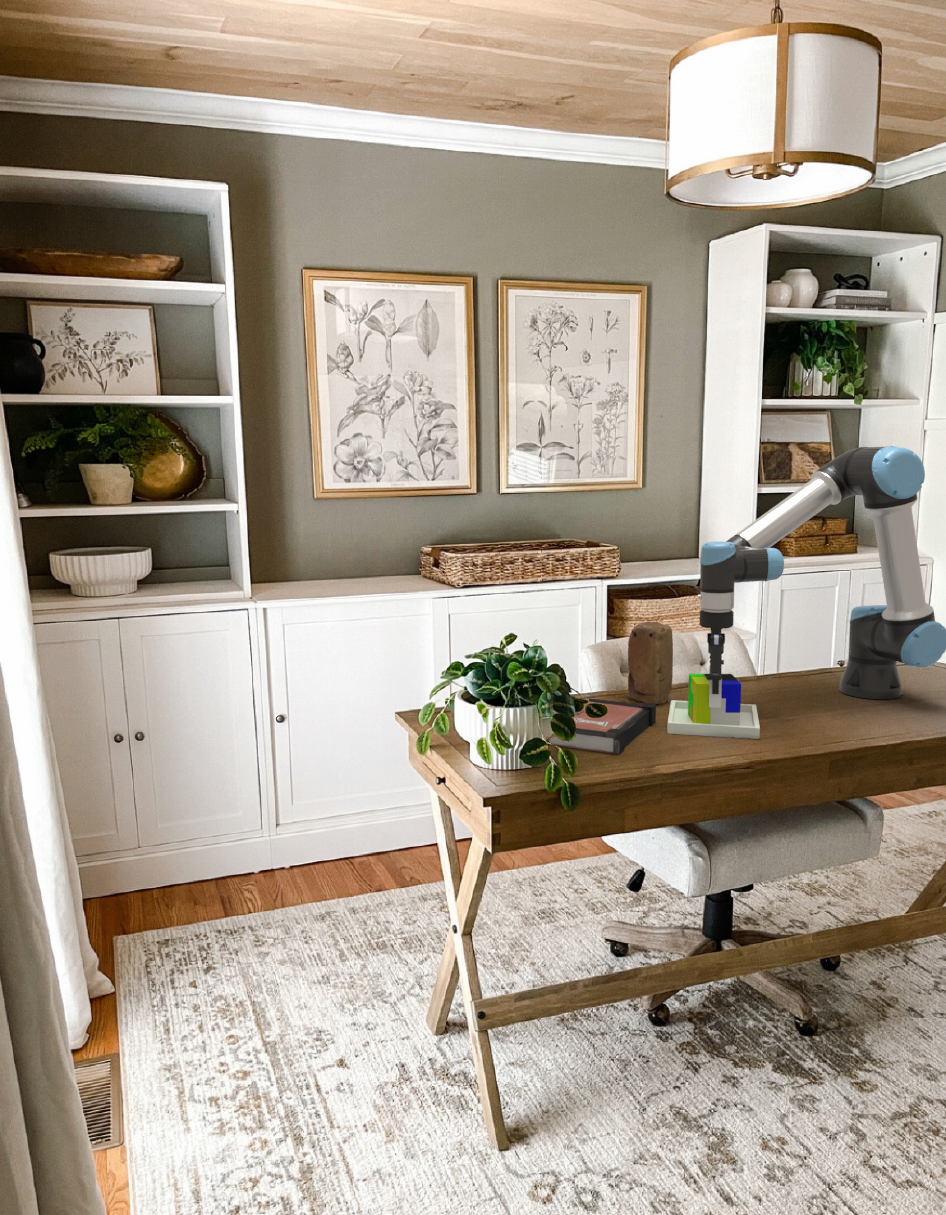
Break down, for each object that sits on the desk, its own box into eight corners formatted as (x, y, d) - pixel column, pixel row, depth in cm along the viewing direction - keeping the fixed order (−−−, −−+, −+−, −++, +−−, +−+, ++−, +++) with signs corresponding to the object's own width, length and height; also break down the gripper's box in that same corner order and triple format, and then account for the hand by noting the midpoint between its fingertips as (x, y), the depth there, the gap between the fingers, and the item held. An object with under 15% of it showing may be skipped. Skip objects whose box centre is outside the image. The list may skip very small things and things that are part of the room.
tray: (755, 714, 229) (755, 704, 228) (759, 739, 210) (759, 728, 209) (671, 710, 234) (671, 700, 233) (667, 733, 214) (667, 722, 214)
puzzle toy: (739, 726, 216) (741, 684, 215) (695, 726, 217) (696, 684, 215) (730, 714, 226) (731, 673, 225) (687, 714, 227) (688, 673, 225)
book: (585, 716, 231) (585, 696, 230) (655, 724, 223) (655, 704, 222) (543, 745, 208) (543, 723, 207) (619, 756, 200) (619, 734, 199)
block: (674, 701, 241) (676, 624, 238) (656, 707, 236) (658, 628, 233) (640, 694, 249) (641, 619, 246) (622, 699, 244) (623, 623, 241)
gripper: (700, 600, 230) (699, 685, 234) (699, 618, 206) (697, 713, 210) (732, 600, 228) (730, 686, 232) (734, 619, 204) (732, 714, 208)
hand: (714, 699), depth 221 cm, fingers open, 13 cm apart
